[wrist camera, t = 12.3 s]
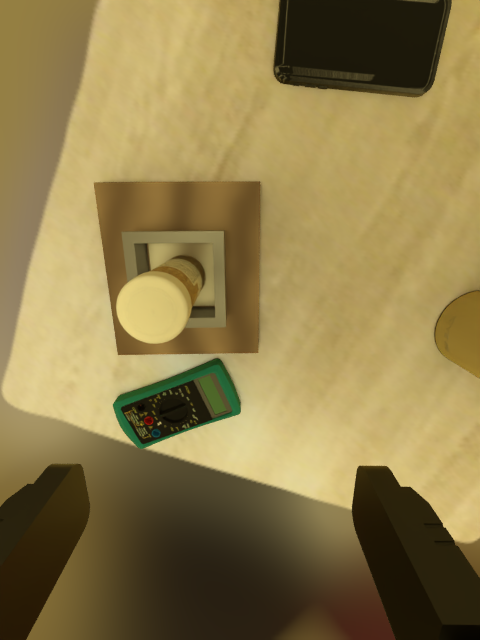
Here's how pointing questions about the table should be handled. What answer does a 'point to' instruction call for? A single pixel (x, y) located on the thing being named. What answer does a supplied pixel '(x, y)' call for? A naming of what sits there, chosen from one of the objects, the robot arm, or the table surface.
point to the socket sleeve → (138, 242)
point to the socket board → (188, 215)
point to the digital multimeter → (177, 404)
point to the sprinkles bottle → (161, 300)
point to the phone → (361, 44)
